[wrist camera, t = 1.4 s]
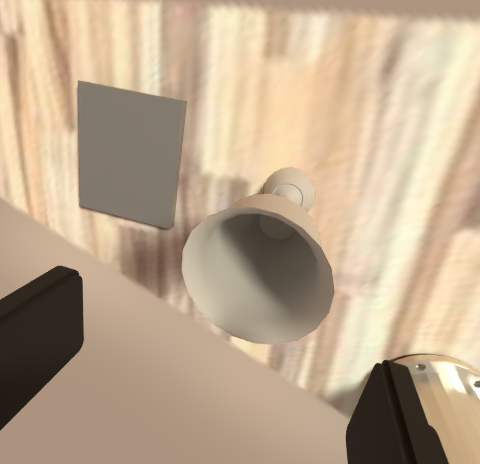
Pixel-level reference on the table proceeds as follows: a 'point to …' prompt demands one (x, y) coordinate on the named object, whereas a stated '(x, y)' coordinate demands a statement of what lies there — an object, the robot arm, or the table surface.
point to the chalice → (262, 264)
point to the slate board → (129, 152)
